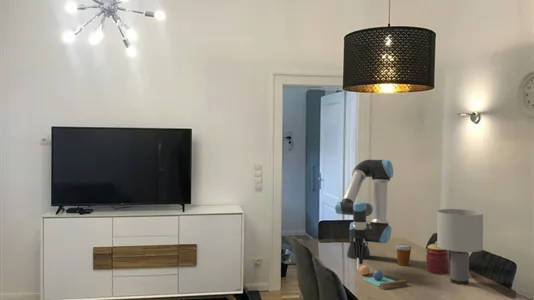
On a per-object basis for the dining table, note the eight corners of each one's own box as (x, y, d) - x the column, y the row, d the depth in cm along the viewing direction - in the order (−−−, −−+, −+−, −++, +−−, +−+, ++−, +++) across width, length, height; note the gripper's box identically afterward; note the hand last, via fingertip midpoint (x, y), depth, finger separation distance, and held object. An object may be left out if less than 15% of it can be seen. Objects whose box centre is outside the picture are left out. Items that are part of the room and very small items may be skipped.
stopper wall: (379, 288, 236) (380, 283, 236) (404, 284, 243) (404, 279, 243) (382, 289, 235) (382, 284, 235) (406, 285, 241) (407, 280, 241)
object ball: (373, 268, 250) (378, 276, 246) (381, 267, 252) (386, 274, 248) (369, 275, 253) (374, 283, 249) (377, 274, 255) (382, 281, 251)
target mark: (361, 279, 252) (361, 278, 252) (382, 276, 258) (382, 275, 258) (377, 286, 240) (377, 285, 240) (399, 283, 245) (399, 282, 245)
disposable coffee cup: (412, 267, 278) (412, 247, 277) (396, 266, 279) (396, 246, 279) (410, 263, 287) (410, 244, 287) (395, 262, 289) (395, 243, 289)
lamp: (427, 278, 253) (428, 210, 253) (458, 274, 262) (459, 208, 262) (460, 291, 232) (460, 216, 232) (492, 285, 241) (493, 213, 241)
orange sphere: (361, 266, 258) (363, 276, 257) (370, 264, 260) (371, 274, 259) (356, 265, 263) (358, 275, 262) (365, 264, 265) (367, 273, 264)
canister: (448, 269, 272) (448, 240, 272) (449, 275, 260) (450, 244, 260) (425, 267, 276) (425, 238, 276) (425, 273, 264) (425, 242, 264)
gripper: (347, 227, 270) (347, 267, 271) (361, 231, 258) (360, 272, 259) (358, 226, 273) (358, 265, 274) (371, 230, 261) (371, 271, 262)
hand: (359, 269), depth 266 cm, fingers closed
